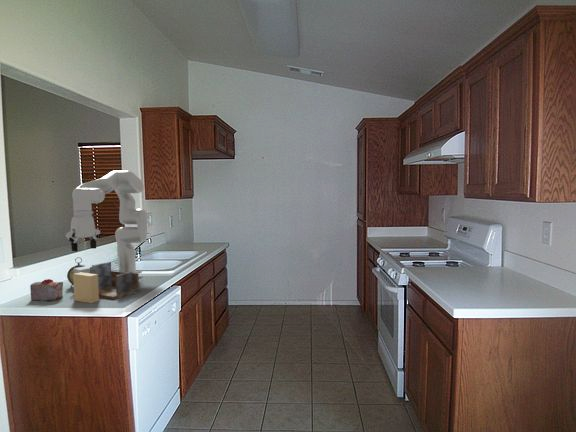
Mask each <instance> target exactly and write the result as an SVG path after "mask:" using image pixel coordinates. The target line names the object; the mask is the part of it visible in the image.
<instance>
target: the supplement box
mask: <svg viewBox="0 0 576 432" xmlns="http://www.w3.org/2000/svg"><path fill="white" fill-rule="evenodd" d="M84 266H85V267H79V268H74V274H75V273H80V272H83V273H90V267H91V266H90V265H84Z"/></svg>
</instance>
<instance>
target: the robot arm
mask: <svg viewBox="0 0 576 432" xmlns="http://www.w3.org/2000/svg"><path fill="white" fill-rule="evenodd" d="M143 182H144V181H143V180H142V179H141V178H140V177H139V176H137V175H136V174H135V173H134V172H132V171H131V170H112V171H110V172H108V173H107V174H105V175H103V176H102V177H101V178H98V179H94V180H91V181H88V182H87V181H86V182H84V183H82V184H80V185H79V186H77V187H76V188H74V189H73V190H72V194H71V197H72V200H73V201H72V202H73V203H72V204H73V205H72V206H73V217H71V222H70V231H68V232H66V233H65V237H66V239H67V240H68V241H69V243H71V244H70V247H71V251H72V252H78V247H79V246H78V240H79V239H87V238H89V239H90V241H89V244H90V249H97V241H98V239H99V236H100V233H101V230H100V229H97V228H96V225H95V219H94V216H93V214H94V210H93V209H92V208H93V207H92V204H100V203H102V202H104V200H105V197H106V194H110V193H112V192H113V191H114V192H115V193H116V195H117V197H118V199H119V212H118V213H119V215H118V216H119V218H118V219H119V222H120V224H122V225H134V226H121V227H118V228H117V229H116V231H115V233H114V235H115V240H116V241H115V242H116V247H117V263H118V264H117V268H118V270H117V271H120V272H128V273H129V272H133V273H137V274H138V278H140V276H139V275H140V274H142V273H143V271H142V270H141V269H140V270H137V269H136V268H137V267H136V265H137V264H136V249H135V247H134V245H133V244H139V243H141V244H143V243H144V242H146V241H147V237H148V222H149V220H148V219H149V218H148V213H147V211H146V210H145V209H143V208H136V199H135V197H134V196H133V195H132V194H140V193H142V192H143V190H144V183H143Z"/></svg>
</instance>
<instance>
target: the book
mask: <svg viewBox="0 0 576 432" xmlns="http://www.w3.org/2000/svg"><path fill="white" fill-rule="evenodd" d="M73 279H74V285H73V296H74V299H73V300H74V301H77V302H83V303H88V304H93V303H97V302H99V301H100V297H99V289H98V274H91V273H83V272H80V273H75V274H73Z"/></svg>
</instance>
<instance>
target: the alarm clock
mask: <svg viewBox="0 0 576 432" xmlns="http://www.w3.org/2000/svg"><path fill="white" fill-rule="evenodd" d="M74 259H75V260H74V261H75V263H76V265H74V266H72V267H70V269H69V270H68V272H67V274H66V276H67V277H66V278H67V281H68V282H69V284H71V285H70V288H72V287H74V279H73V274H74V268H79V267H85V266H86V265H84V264H81V263H82V262H83V259H82V257H80V256H79V257H75V258H74ZM78 259H80V262H77V260H78Z"/></svg>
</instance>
